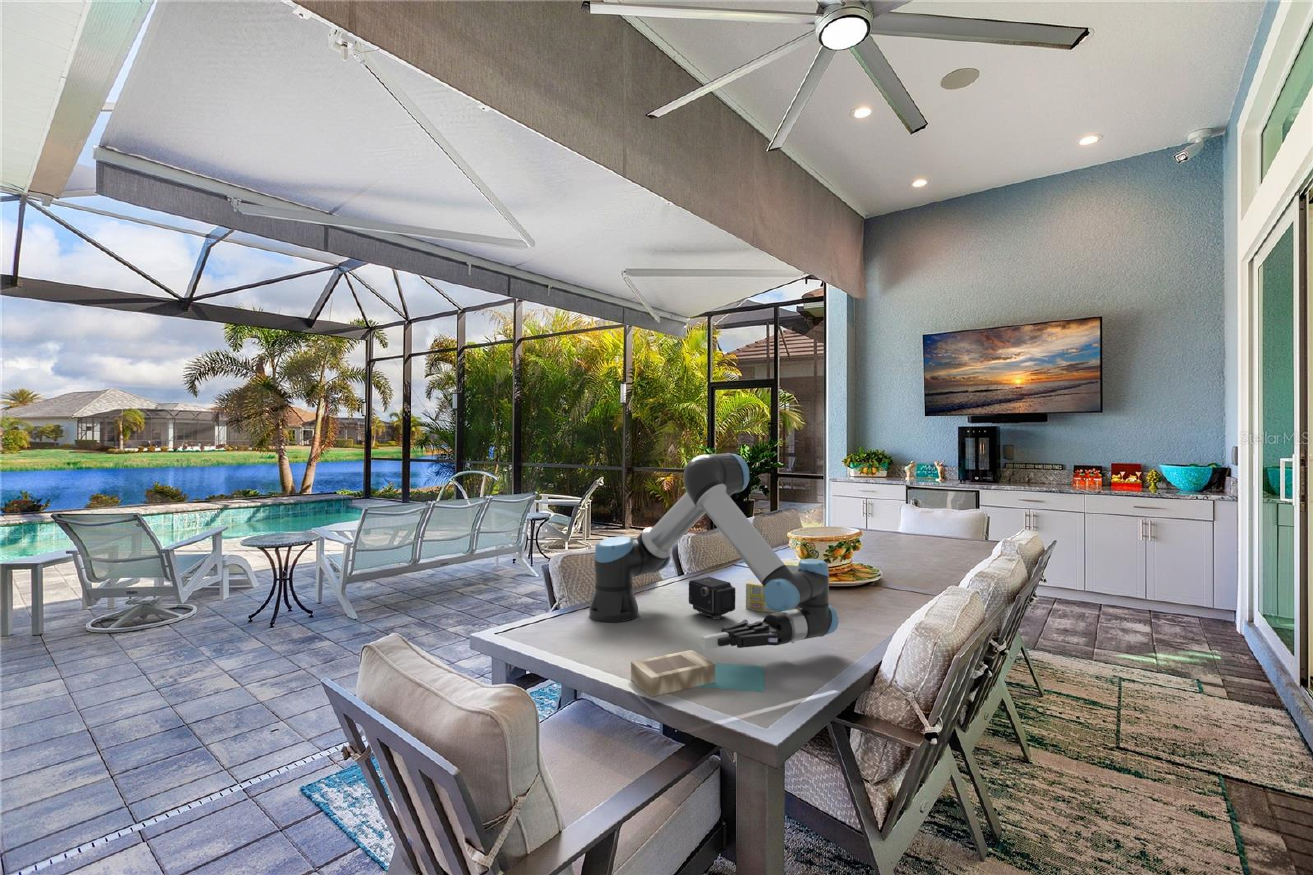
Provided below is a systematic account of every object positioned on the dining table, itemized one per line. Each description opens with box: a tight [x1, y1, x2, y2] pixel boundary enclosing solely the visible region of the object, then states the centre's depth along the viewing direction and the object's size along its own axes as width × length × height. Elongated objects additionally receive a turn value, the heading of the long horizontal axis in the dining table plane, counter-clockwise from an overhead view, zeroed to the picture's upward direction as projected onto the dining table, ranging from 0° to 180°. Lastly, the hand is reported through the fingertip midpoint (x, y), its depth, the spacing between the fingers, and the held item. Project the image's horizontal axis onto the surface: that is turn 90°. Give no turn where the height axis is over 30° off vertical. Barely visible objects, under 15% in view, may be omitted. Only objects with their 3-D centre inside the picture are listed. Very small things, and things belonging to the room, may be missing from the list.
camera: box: [688, 576, 736, 620], centre depth 182 cm, size 11×11×15 cm
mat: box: [695, 662, 765, 693], centre depth 135 cm, size 26×14×1 cm, turn 81°
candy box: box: [745, 582, 797, 614], centre depth 186 cm, size 16×2×8 cm, turn 58°
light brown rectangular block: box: [630, 649, 715, 698], centre depth 132 cm, size 4×10×16 cm
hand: (703, 643), depth 135 cm, fingers closed
